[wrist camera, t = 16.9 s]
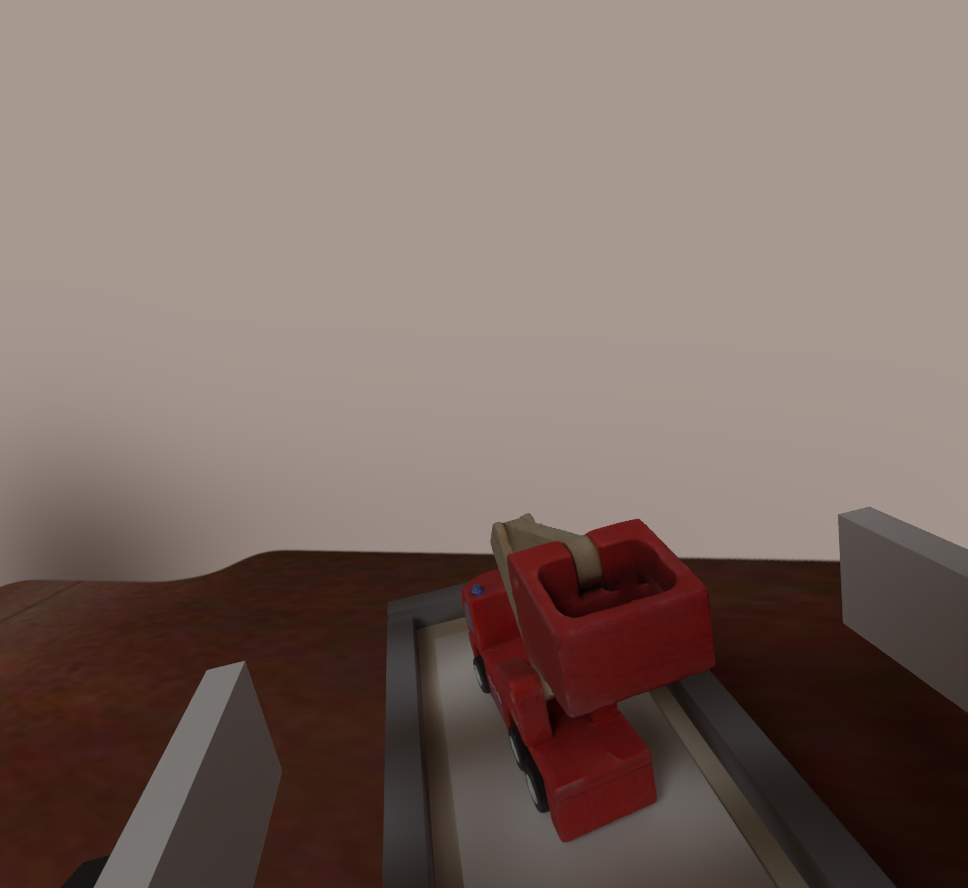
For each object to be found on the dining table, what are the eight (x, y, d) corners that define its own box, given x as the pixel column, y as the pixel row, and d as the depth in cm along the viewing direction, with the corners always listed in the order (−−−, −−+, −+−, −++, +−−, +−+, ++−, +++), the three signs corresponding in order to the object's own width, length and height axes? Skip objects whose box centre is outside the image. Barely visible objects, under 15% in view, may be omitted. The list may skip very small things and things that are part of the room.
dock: (933, 1055, 14) (933, 917, 13) (416, 1237, 13) (367, 1101, 12) (617, 615, 33) (607, 545, 32) (402, 671, 32) (383, 601, 31)
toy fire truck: (540, 639, 27) (500, 431, 24) (753, 941, 14) (712, 560, 11) (468, 663, 26) (419, 452, 24) (622, 1007, 13) (548, 615, 11)
